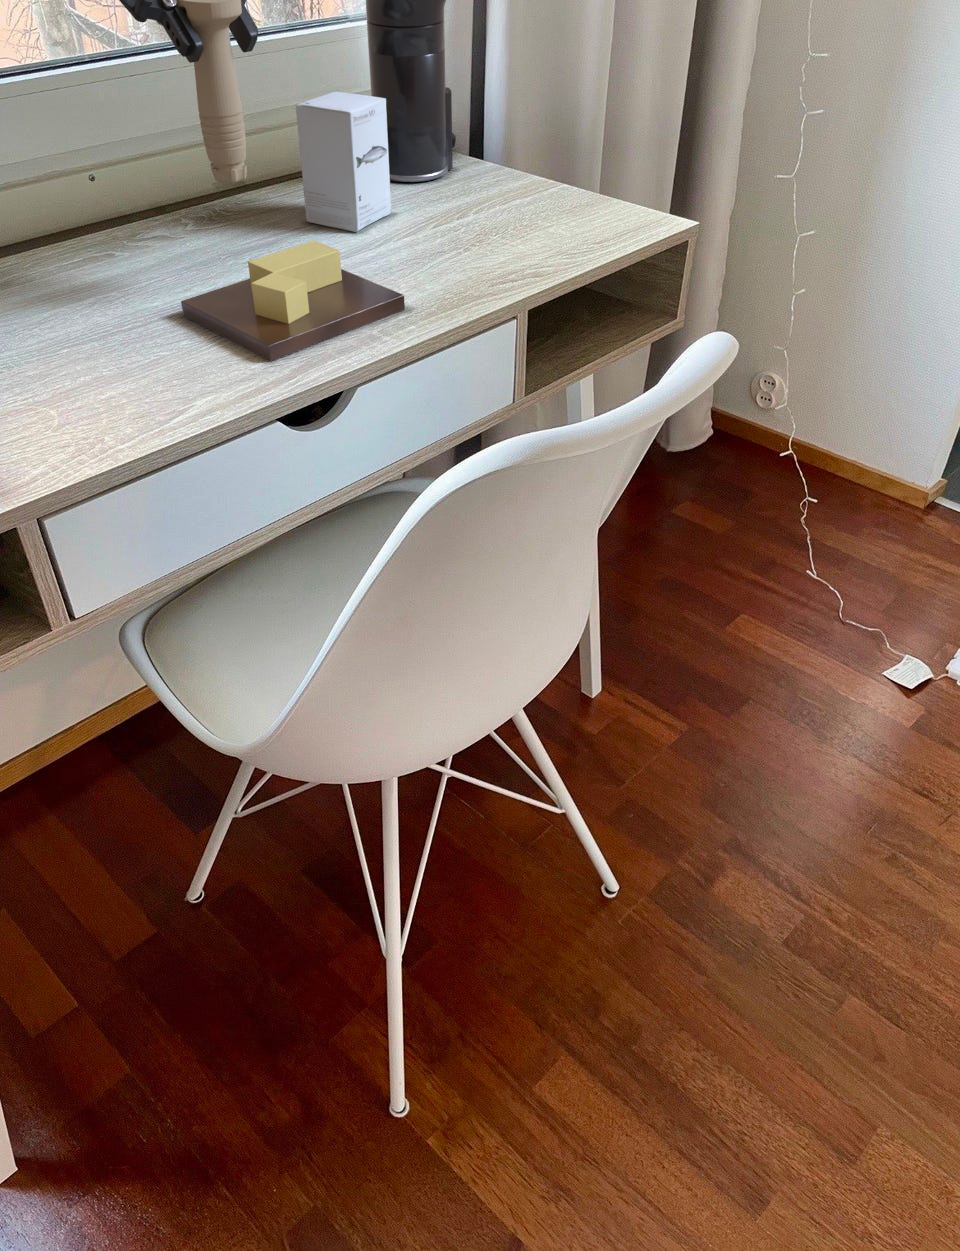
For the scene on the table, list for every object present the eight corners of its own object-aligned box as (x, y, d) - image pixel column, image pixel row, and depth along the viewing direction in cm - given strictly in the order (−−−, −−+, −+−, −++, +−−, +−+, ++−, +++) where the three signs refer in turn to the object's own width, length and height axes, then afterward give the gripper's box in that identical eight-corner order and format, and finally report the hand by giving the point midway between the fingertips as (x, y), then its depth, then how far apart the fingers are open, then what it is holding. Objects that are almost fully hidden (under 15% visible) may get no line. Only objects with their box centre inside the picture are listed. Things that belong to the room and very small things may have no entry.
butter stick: (316, 269, 105) (313, 240, 103) (342, 280, 103) (339, 250, 101) (251, 292, 100) (247, 261, 99) (277, 303, 98) (273, 272, 96)
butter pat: (276, 303, 98) (272, 272, 96) (309, 312, 97) (306, 281, 95) (255, 314, 96) (250, 282, 95) (288, 324, 95) (284, 292, 93)
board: (315, 271, 109) (313, 257, 108) (405, 309, 101) (404, 294, 100) (183, 316, 100) (180, 300, 99) (271, 361, 92) (268, 345, 91)
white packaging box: (358, 233, 117) (349, 112, 109) (304, 222, 120) (292, 103, 112) (393, 214, 122) (387, 96, 114) (341, 204, 125) (332, 88, 117)
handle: (233, 193, 95) (207, 5, 85) (187, 178, 98) (157, -5, 88) (272, 179, 98) (251, -4, 88) (227, 165, 101) (201, -13, 91)
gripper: (49, -163, 82) (164, 33, 83) (204, -171, 89) (306, 8, 91) (35, -88, 88) (142, 94, 89) (180, -101, 96) (277, 66, 97)
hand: (224, 49), depth 90 cm, fingers closed on handle, 5 cm apart
